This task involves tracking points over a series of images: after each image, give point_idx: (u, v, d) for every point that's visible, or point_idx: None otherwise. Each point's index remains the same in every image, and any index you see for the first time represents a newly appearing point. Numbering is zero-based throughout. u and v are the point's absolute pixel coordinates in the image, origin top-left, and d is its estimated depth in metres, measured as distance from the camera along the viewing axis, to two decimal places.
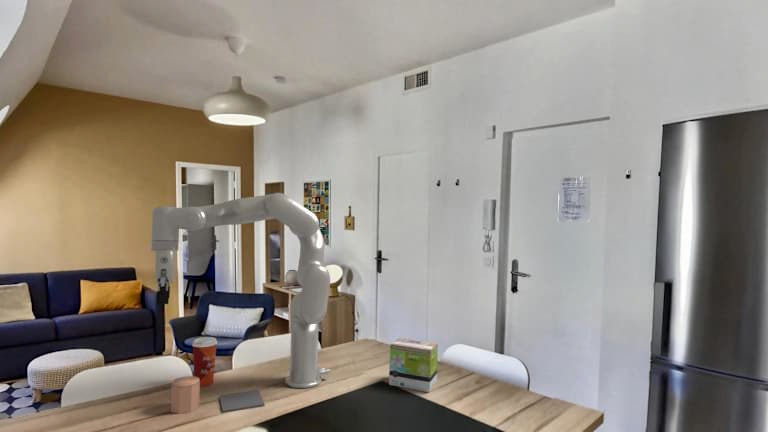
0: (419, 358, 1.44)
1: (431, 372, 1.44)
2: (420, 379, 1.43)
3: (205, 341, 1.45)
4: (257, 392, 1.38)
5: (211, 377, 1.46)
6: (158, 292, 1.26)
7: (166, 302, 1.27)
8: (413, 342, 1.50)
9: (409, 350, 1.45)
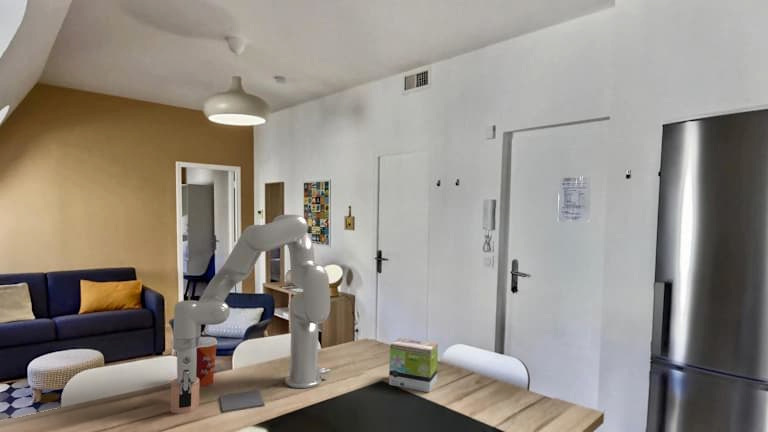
0: (419, 358, 1.44)
1: (431, 372, 1.44)
2: (420, 379, 1.43)
3: (205, 341, 1.45)
4: (257, 392, 1.38)
5: (211, 377, 1.46)
6: (181, 395, 1.23)
7: (189, 404, 1.24)
8: (413, 342, 1.50)
9: (409, 350, 1.45)
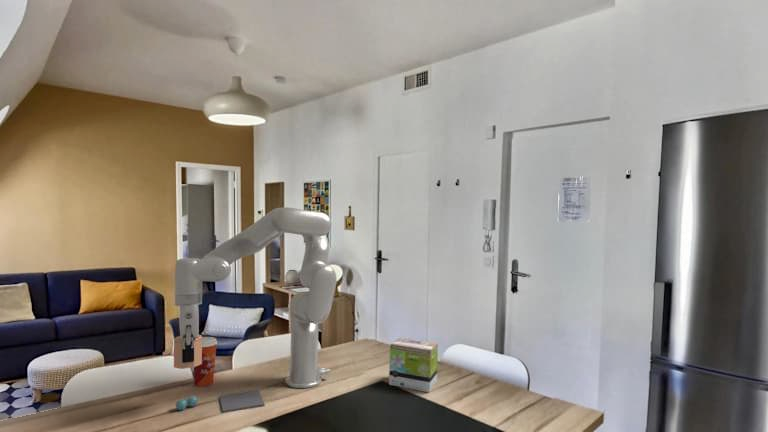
0: (419, 358, 1.44)
1: (431, 372, 1.44)
2: (420, 379, 1.43)
3: (205, 341, 1.45)
4: (257, 392, 1.38)
5: (211, 377, 1.46)
6: (183, 350, 1.23)
7: (192, 360, 1.24)
8: (413, 342, 1.50)
9: (409, 350, 1.45)
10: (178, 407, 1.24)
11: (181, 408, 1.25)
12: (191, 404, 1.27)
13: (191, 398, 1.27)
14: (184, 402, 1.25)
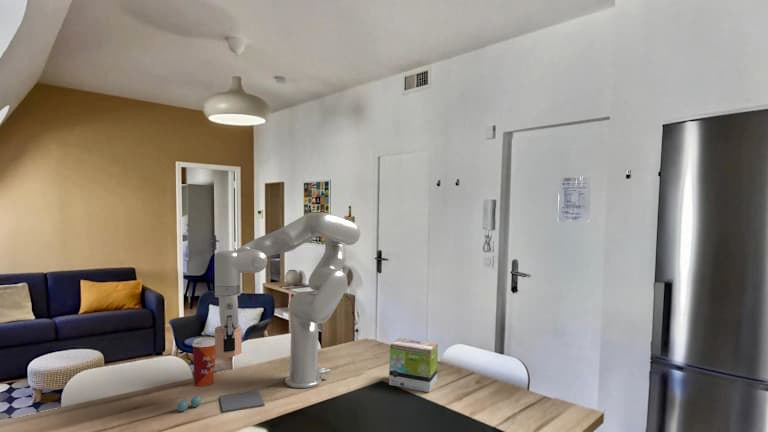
0: (419, 358, 1.44)
1: (431, 372, 1.44)
2: (420, 379, 1.43)
3: (205, 341, 1.45)
4: (257, 392, 1.38)
5: (211, 377, 1.46)
6: (225, 340, 1.27)
7: (233, 349, 1.28)
8: (413, 342, 1.50)
9: (409, 350, 1.45)
10: None
11: None
12: (193, 405, 1.27)
13: (196, 401, 1.27)
14: (185, 407, 1.24)
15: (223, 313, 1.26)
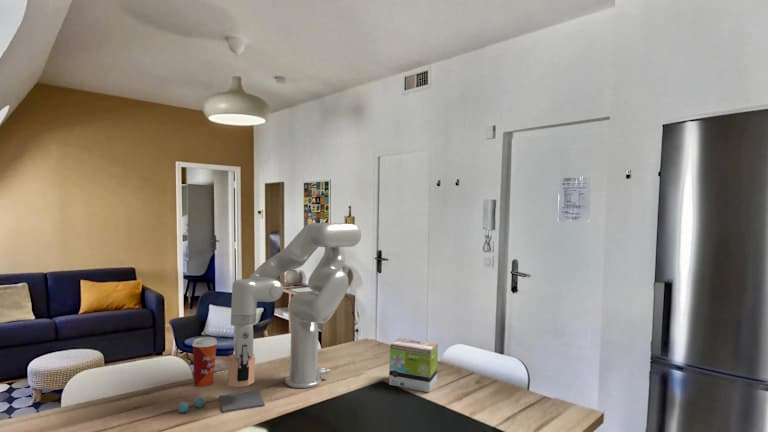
0: (419, 358, 1.44)
1: (431, 372, 1.44)
2: (420, 379, 1.43)
3: (205, 341, 1.45)
4: (257, 392, 1.38)
5: (211, 377, 1.46)
6: (239, 369, 1.28)
7: (246, 378, 1.29)
8: (413, 342, 1.50)
9: (409, 350, 1.45)
10: (179, 411, 1.23)
11: None
12: (195, 405, 1.27)
13: (200, 404, 1.27)
14: None
15: (239, 342, 1.27)
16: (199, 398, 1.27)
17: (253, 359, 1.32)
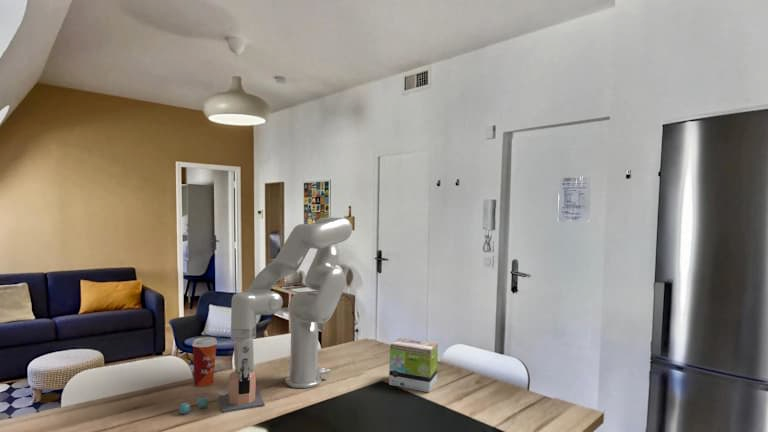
0: (419, 358, 1.44)
1: (431, 372, 1.44)
2: (420, 379, 1.43)
3: (205, 341, 1.45)
4: (257, 392, 1.38)
5: (211, 377, 1.46)
6: (240, 382, 1.27)
7: (247, 391, 1.28)
8: (413, 342, 1.50)
9: (409, 350, 1.45)
10: None
11: None
12: (197, 404, 1.26)
13: (202, 407, 1.26)
14: None
15: (239, 356, 1.28)
16: (205, 401, 1.27)
17: (254, 377, 1.32)
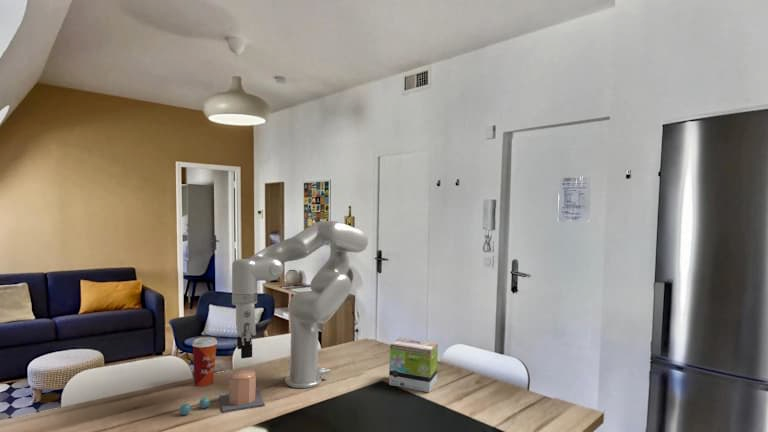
0: (419, 358, 1.44)
1: (431, 372, 1.44)
2: (420, 379, 1.43)
3: (205, 341, 1.45)
4: (257, 392, 1.38)
5: (211, 377, 1.46)
6: (242, 346, 1.28)
7: (250, 355, 1.29)
8: (413, 342, 1.50)
9: (409, 350, 1.45)
10: None
11: None
12: (199, 403, 1.26)
13: (203, 407, 1.26)
14: None
15: (241, 321, 1.28)
16: (207, 403, 1.27)
17: (254, 377, 1.32)
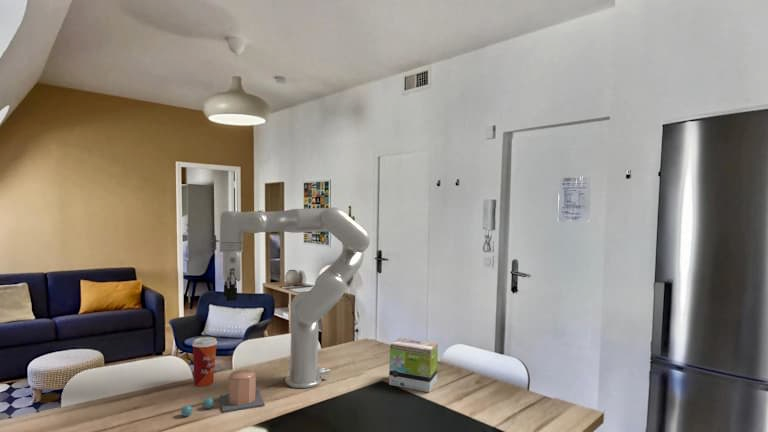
0: (419, 358, 1.44)
1: (431, 372, 1.44)
2: (420, 379, 1.43)
3: (205, 341, 1.45)
4: (257, 392, 1.38)
5: (211, 377, 1.46)
6: (228, 289, 1.38)
7: (235, 298, 1.39)
8: (413, 342, 1.50)
9: (409, 350, 1.45)
10: (181, 409, 1.22)
11: None
12: (205, 402, 1.26)
13: (204, 406, 1.26)
14: None
15: (227, 266, 1.39)
16: (210, 407, 1.26)
17: (254, 377, 1.32)
